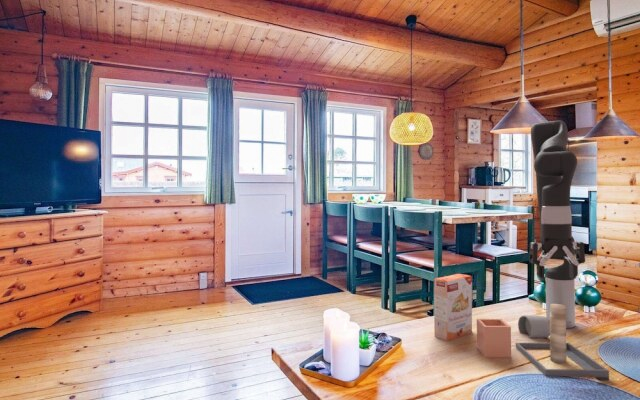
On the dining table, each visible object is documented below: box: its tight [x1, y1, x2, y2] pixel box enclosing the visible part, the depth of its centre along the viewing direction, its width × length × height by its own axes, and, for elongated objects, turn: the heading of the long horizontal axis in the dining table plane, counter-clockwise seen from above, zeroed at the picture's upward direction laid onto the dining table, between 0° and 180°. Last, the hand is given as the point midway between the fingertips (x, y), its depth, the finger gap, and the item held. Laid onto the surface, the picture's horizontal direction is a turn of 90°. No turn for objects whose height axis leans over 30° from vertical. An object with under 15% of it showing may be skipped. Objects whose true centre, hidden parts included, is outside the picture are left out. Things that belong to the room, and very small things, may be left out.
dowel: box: [549, 304, 567, 365], centre depth 118 cm, size 4×4×16 cm
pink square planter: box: [476, 318, 512, 358], centre depth 126 cm, size 8×8×10 cm
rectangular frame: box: [515, 342, 610, 381], centre depth 118 cm, size 20×16×2 cm
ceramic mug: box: [517, 314, 550, 339], centre depth 141 cm, size 11×8×8 cm
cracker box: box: [433, 273, 473, 342], centre depth 142 cm, size 14×6×21 cm, turn 126°
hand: (557, 278), depth 118 cm, fingers open, 8 cm apart
